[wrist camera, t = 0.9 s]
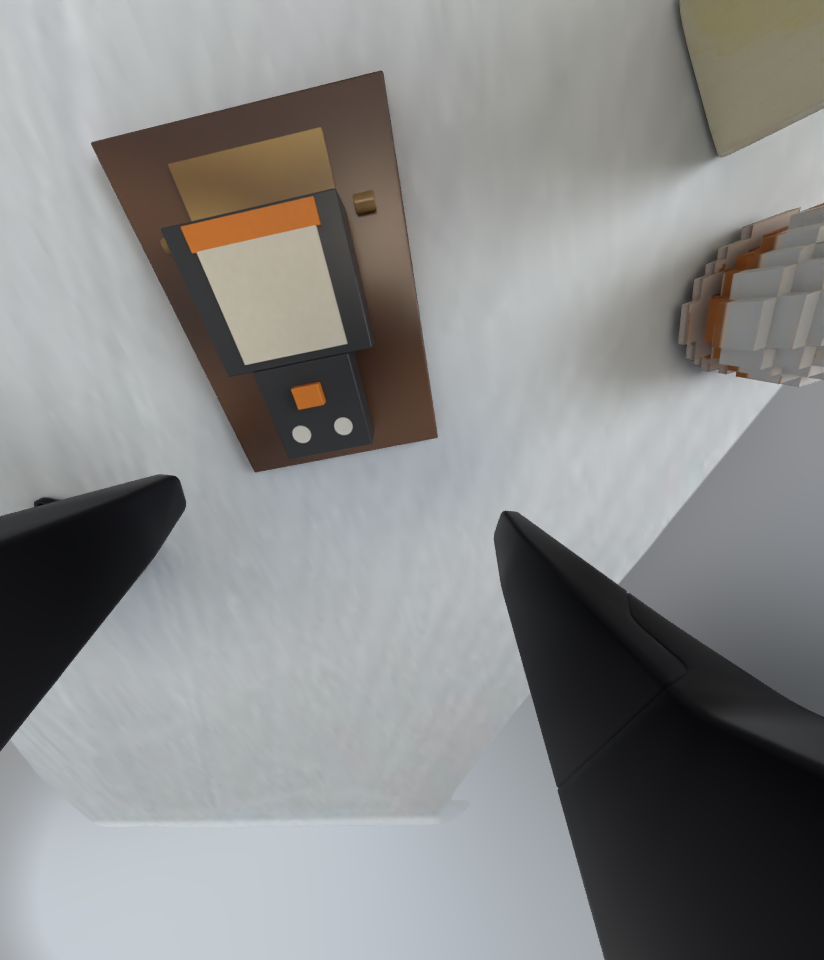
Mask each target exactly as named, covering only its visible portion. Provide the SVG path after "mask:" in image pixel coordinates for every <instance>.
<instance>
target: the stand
mask: <svg viewBox="0 0 824 960" xmlns="http://www.w3.org/2000/svg"><path fill="white" fill-rule="evenodd" d="M91 145H92V147H93V149H94V151H95V153H96V155H97V157H98V159H99V161H100V163H101V165H102V167H103V169H104V171H105V173H106V175H107V177H108V179H109V181H110V183H111V185H112V187H113V189H114V191H115V193H116V195H117V197H118V199H119V201H120V203H121V205H122V207H123V209H124V211H125V213H126V215H127V217H128V219H129V221H130V223H131V225H132V227H133V229H134V231H135V233H136V235H137V237H138V239H139V241H140V243H141V245H142V247H143V249H144V251H145V253H146V255H147V257H148V259H149V261H150V263H151V265H152V267H153V269H154V271H155V273H156V275H157V277H158V279H159V281H160V283H161V285H162V287H163V289H164V291H165V293H166V295H167V297H168V299H169V301H170V303H171V305H172V307H173V309H174V311H175V313H176V315H177V317H178V319H179V321H180V323H181V325H182V327H183V329H184V331H185V333H186V335H187V337H188V339H189V341H190V343H191V345H192V347H193V349H194V351H195V353H196V355H197V357H198V359H199V361H200V363H201V365H202V367H203V369H204V371H205V373H206V375H207V377H208V379H209V381H210V383H211V385H212V387H213V389H214V391H215V393H216V395H217V397H218V399H219V401H220V404H221V406H222V408H223V410H224V412H225V414H226V416H227V418H228V420H229V422H230V424H231V426H232V428H233V430H234V432H235V434H236V436H237V438H238V440H239V442H240V444H241V446H242V448H243V450H244V452H245V454H246V456H247V458H248V460H249V462H250V464H251V466H252V468H253V470H254V472H260V471H265V470H270V469H276V468H281V467H286V466H291V465H297V464H302V463H307V462H312V461H318V460H323V459H328V458H333V457H339V456H344V455H349V454H355V453H360V452H365V451H370V450H376V449H381V448H386V447H391V446H397V445H402V444H407V443H412V442H418V441H423V440H428V439H433V438H437V437H438V435H437V428H436V422H435V415H434V408H433V401H432V395H431V388H430V381H429V375H428V368H427V361H426V355H425V348H424V341H423V335H422V328H421V321H420V315H419V308H418V301H417V294H416V288H415V281H414V274H413V268H412V261H411V254H410V248H409V241H408V234H407V228H406V221H405V214H404V207H403V201H402V194H401V187H400V181H399V174H398V167H397V161H396V154H395V147H394V141H393V134H392V127H391V120H390V114H389V107H388V100H387V94H386V87H385V80H384V74H383V71H377V72H373V73H369V74H365V75H361V76H357V77H353V78H349V79H345V80H341V81H337V82H333V83H329V84H325V85H321V86H317V87H313V88H309V89H305V90H301V91H296V92H292V93H288V94H284V95H280V96H276V97H272V98H268V99H264V100H260V101H256V102H252V103H248V104H244V105H240V106H236V107H232V108H228V109H224V110H220V111H216V112H212V113H208V114H204V115H200V116H196V117H192V118H188V119H184V120H179V121H175V122H171V123H167V124H163V125H159V126H155V127H151V128H147V129H143V130H139V131H135V132H131V133H127V134H123V135H119V136H115V137H111V138H107V139H103V140H99V141H95V142H92V143H91ZM333 188H335V189H336V190H337V192H338V194H339V196H340V198H341V200H342V203H343V205H344V207H345V210H346V214H347V219H348V223H349V228H350V232H351V237H352V241H353V246H354V250H355V255H356V259H357V264H358V268H359V273H360V277H361V282H362V286H363V291H364V295H365V300H366V304H367V309H368V313H369V318H370V322H371V327H372V331H373V336H374V340H375V344H374V345H373V346H372V348H368V349H363V350H358V351H355V355H356V358H357V362H358V366H359V370H360V374H361V378H362V382H363V386H364V390H365V394H366V398H367V401H368V405H369V409H370V413H371V417H372V421H373V425H374V429H375V430H374V436H373V441H372V444H370V445H365V446H360V447H354V448H349V449H344V450H339V451H333V452H328V453H323V454H318V455H313V456H307V457H302V458H297V459H292V460H290V459H289V457H288V455H287V453H286V450H285V448H284V446H283V443H282V441H281V439H280V436H279V434H278V432H277V429H276V427H275V425H274V422H273V420H272V417H271V415H270V413H269V410H268V408H267V406H266V403H265V401H264V399H263V396H262V394H261V392H260V389H259V387H258V384H257V382H256V380H255V377H254V375H253V372H252V373H247V374H242V375H237V376H232V377H229V376H228V374H227V372H226V370H225V368H224V366H223V364H222V362H221V359H220V357H219V355H218V353H217V351H216V349H215V346H214V344H213V342H212V340H211V338H210V336H209V334H208V331H207V329H206V327H205V325H204V323H203V321H202V319H201V316H200V314H199V312H198V310H197V308H196V306H195V303H194V301H193V299H192V297H191V295H190V293H189V291H188V288H187V286H186V284H185V282H184V280H183V278H182V276H181V273H180V271H179V269H178V267H177V265H176V263H175V260H174V258H173V256H172V254H171V252H170V250H169V248H168V245H167V243H166V241H165V239H164V237H163V235H162V233H161V230H160V229H161V228H164V227H169V226H173V225H177V224H182V223H186V222H190V221H195V220H199V219H203V218H207V217H212V216H216V215H220V214H225V213H229V212H233V211H238V210H242V209H246V208H251V207H255V206H259V205H264V204H268V203H272V202H277V201H281V200H285V199H290V198H294V197H298V196H302V195H307V194H311V193H315V192H320V191H324V190H328V189H333Z"/></svg>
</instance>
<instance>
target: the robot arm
mask: <svg viewBox="0 0 824 960" xmlns="http://www.w3.org/2000/svg"><path fill="white" fill-rule="evenodd" d="M34 506H35V507H34V508H30V509H26V510H22V511H19V512H15V513H11V514H7V515H4V516H0V751H1V750H2V749H3V747H4V746H5V745H6V744H7V742H8V741H9V740H10V739H11V737H12V736H13V735H14V734H15V732H16V731H17V730H18V729H19V727H20V726H21V725H22V724H23V722H24V721H25V720H26V718H27V717H28V716H29V715H30V713H31V712H32V711H33V710H34V708H35V707H36V706H37V705H38V703H39V702H40V701H41V700H42V698H43V697H44V696H45V695H46V693H47V692H48V691H49V690H50V689H51V687H52V686H53V685H54V684H55V682H56V681H57V680H58V679H59V677H60V676H61V675H62V673H63V672H64V671H65V669H66V668H67V667H68V666H69V664H70V663H71V662H72V661H73V659H74V658H75V657H76V655H77V654H78V653H79V652H80V650H81V649H82V648H83V647H84V645H85V644H86V643H87V642H88V640H89V639H90V638H91V637H92V635H93V634H94V633H95V632H96V630H97V629H98V628H99V627H100V625H101V624H102V623H103V621H104V620H105V619H106V618H107V616H108V615H109V614H110V613H111V611H112V610H113V609H114V608H115V606H116V605H117V604H118V603H119V601H120V600H121V599H122V598H123V596H124V595H125V594H126V592H127V591H128V590H129V589H130V587H131V586H132V585H133V584H134V582H135V581H136V580H137V579H138V577H139V576H140V575H141V574H142V572H143V571H144V570H145V569H146V567H147V566H148V565H149V563H150V562H151V561H152V559H153V558H154V557H155V555H156V554H157V552H158V551H159V549H160V548H161V546H162V545H163V543H164V542H165V540H166V538H167V537H168V535H169V534H170V532H171V531H172V529H173V528H174V526H175V524H176V523H177V521H178V520H179V518H180V517H181V515H182V513H183V512H184V510H185V507H186V500H185V496H184V493H183V489H182V486H181V483H180V480H179V479H178V478H177V477H176V476H171V475H162V474H159V475H154V476H150V477H147V478H143V479H139V480H135V481H131V482H128V483H124V484H120V485H116V486H113V487H109V488H105V489H101V490H98V491H94V492H90V493H86V494H83V495H79V496H75V497H71V498H68V499H64V500H60V501H58V500H54V499H50V498H40V499H39V500H37V501H35V502H34ZM494 544H495V550H496V557H497V563H498V569H499V576H500V582H501V587H502V591H503V595H504V599H505V602H506V606H507V609H508V613H509V617H510V620H511V624H512V627H513V631H514V635H515V638H516V642H517V645H518V649H519V653H520V656H521V660H522V663H523V667H524V671H525V674H526V678H527V681H528V685H529V689H530V692H531V696H532V699H533V703H534V706H535V710H536V714H537V717H538V721H539V724H540V728H541V732H542V735H543V739H544V742H545V746H546V750H547V753H548V757H549V760H550V764H551V768H552V771H553V775H554V778H555V782H556V785H557V787H558V794H559V797H560V801H561V804H562V808H563V812H564V815H565V819H566V822H567V826H568V830H569V833H570V836H571V840H572V844H573V848H574V851H575V855H576V858H577V862H578V865H579V869H580V873H581V876H582V880H583V884H584V887H585V891H586V894H587V898H588V902H589V905H590V909H591V912H592V916H593V920H594V923H595V927H596V930H597V934H598V938H599V941H600V945H601V948H602V952H603V955H604V959H605V960H824V717H823V716H820V715H818V714H816V713H814V712H812V711H809V710H808V709H806V708H804V707H802V706H800V705H798V704H796V703H794V702H793V701H791V700H789V699H788V698H786V697H784V696H783V695H781V694H779V693H778V692H776V691H775V690H773V689H772V688H770V687H769V686H767V685H765V684H764V683H762V682H761V681H759V680H758V679H756V678H755V677H753V676H752V675H750V674H749V673H747V672H745V671H744V670H742V669H741V668H739V667H738V666H736V665H735V664H733V663H732V662H730V661H729V660H727V659H726V658H724V657H722V656H721V655H719V654H718V653H716V652H715V651H713V650H712V649H710V648H709V647H707V646H706V645H704V644H703V643H701V642H699V641H698V640H697V639H695V638H693V637H692V636H691V635H689V634H687V633H686V632H685V631H683V630H682V629H680V628H679V627H677V626H676V625H674V624H673V623H671V622H669V621H668V620H667V619H665V618H664V617H662V616H661V615H660V614H658V613H657V612H655V611H654V610H653V609H651V608H650V607H648V606H647V605H645V604H644V603H643V602H641V601H640V600H638V599H637V598H636V597H634V596H633V595H632V594H630V593H627V591H626V590H625V589H623V588H622V587H620V586H619V585H618V584H616V583H615V582H614V581H612V580H611V579H609V578H608V577H607V576H605V575H604V574H602V573H601V572H600V571H598V570H597V569H596V568H594V567H593V566H591V565H590V564H589V563H587V562H586V561H584V560H583V559H582V558H580V557H579V556H578V555H576V554H575V553H573V552H572V551H571V550H569V549H568V548H567V547H565V546H564V545H562V544H561V543H560V542H558V541H557V540H555V539H554V538H553V537H551V536H550V535H549V534H547V533H546V532H544V531H543V530H542V529H540V528H539V527H537V526H536V525H535V524H533V523H532V522H531V521H529V520H528V519H526V518H525V517H524V516H522V515H521V514H520V513H518V512H514V511H503V512H502V513H501V515H500V518H499V521H498V524H497V527H496V530H495V533H494Z"/></svg>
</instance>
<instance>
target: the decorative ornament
mask: <svg viewBox="0 0 824 960" xmlns="http://www.w3.org/2000/svg"><path fill="white" fill-rule="evenodd" d="M800 208H801V207H800ZM800 208H796V209H792V210H789V211H786V212H783V213H780V214H778V215H775V216H772V217H769V218H767V219H764V220H761V221H759V222H756V223H753V224H751V225H748V226H745V227H743V228H742V233H741V239H740V240H739V241H737V242H734V243H731V244H728V245H726V246H723V247H720V248H718V255H717V260H716V261H713V262H710V263H707V264H706V270H705V275H704V276H702V277H699V278H696V279H694V287H693V296H692V301H690V302H687V303H684V304H682V309H681V320H680V330H679V340H678V344H687V350H686V359H690V360H694V365H699V366H702V370H703V371H709V372H710V371H713V370H716V369H719V372H718V373H722V374H729V373H732V372H735V371H736V376H737V377H743V378H748V379H754V380H759V381H765V382H770V383H776V384H784V385H790V386H795V387H800V386H804V385H807V384H810V383H813V382H817V381H820V380H824V203H823V204H820V205H817V206H815V207H812V208H809V209H807V210H804V211H801V212H800Z"/></svg>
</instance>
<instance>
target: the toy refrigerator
mask: <svg viewBox="0 0 824 960" xmlns="http://www.w3.org/2000/svg"><path fill="white" fill-rule="evenodd" d="M679 6H680V15H681V21H682V26H683V30H684V34H685V38H686V43H687V47H688V51H689V55H690V58H691V62H692V65H693V69H694V73H695V76H696V80H697V84H698V88H699V91H700V95H701V99H702V102H703V106H704V110H705V113H706V117H707V121H708V125H709V128H710V131H711V134H712V138H713V141H714V144H715V147H716V150H717V153H718V156H719V157H725V156H727V155H730V154H732V153H734V152H736V151H738V150H740V149H742V148H744V147H746V146H748V145H750V144H752V143H754V142H756V141H758V140H760V139H762V138H764V137H766V136H768V135H771V134H773V133H775V132H777V131H779V130H781V129H783V128H785V127H787V126H789V125H791V124H793V123H795V122H797V121H799V120H801V119H803V118H805V117H807V116H809V115H811V114H813V113H815V112H817V111H819V110H821V109H823V108H824V0H679Z"/></svg>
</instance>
